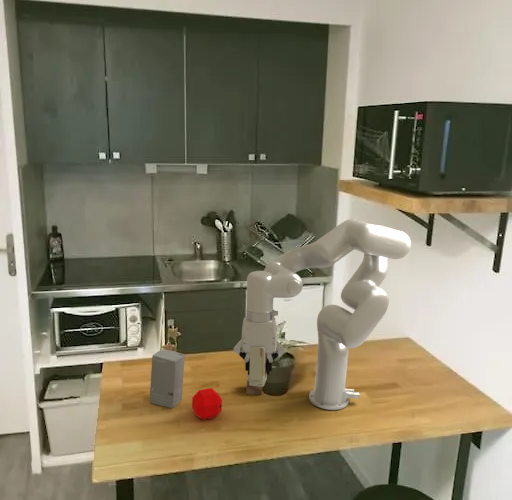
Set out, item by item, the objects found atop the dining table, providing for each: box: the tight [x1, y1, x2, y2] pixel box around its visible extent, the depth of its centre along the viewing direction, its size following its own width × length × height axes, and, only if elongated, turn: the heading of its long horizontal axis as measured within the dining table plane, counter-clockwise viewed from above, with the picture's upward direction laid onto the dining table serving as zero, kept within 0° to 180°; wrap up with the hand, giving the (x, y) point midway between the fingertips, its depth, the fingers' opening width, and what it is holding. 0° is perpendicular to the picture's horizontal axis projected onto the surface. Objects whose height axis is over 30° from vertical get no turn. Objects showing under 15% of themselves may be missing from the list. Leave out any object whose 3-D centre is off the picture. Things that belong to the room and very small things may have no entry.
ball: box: [191, 387, 223, 421], centre depth 155 cm, size 8×8×8 cm
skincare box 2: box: [249, 346, 268, 388], centre depth 153 cm, size 6×4×12 cm
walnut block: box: [245, 372, 263, 396], centre depth 171 cm, size 5×5×5 cm
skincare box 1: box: [149, 348, 186, 409], centre depth 161 cm, size 8×7×16 cm
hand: (258, 372), depth 153 cm, fingers closed on skincare box 2, 5 cm apart
